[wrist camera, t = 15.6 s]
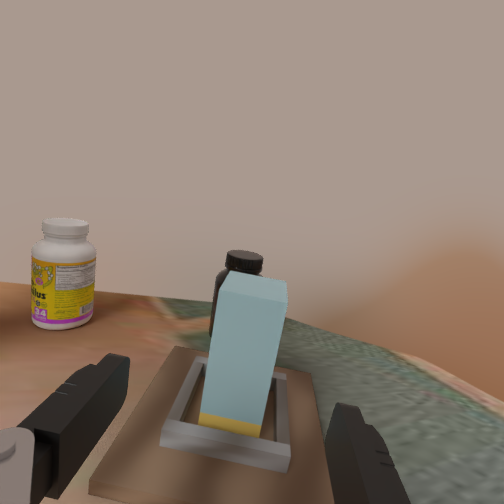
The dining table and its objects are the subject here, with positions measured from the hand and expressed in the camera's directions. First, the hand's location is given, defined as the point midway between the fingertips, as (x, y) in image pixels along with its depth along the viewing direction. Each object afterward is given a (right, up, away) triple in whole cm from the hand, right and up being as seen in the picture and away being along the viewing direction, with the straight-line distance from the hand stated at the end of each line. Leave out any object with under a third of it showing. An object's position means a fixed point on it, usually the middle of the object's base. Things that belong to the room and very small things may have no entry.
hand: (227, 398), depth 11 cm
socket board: (-1, -10, +15) cm, 18 cm away
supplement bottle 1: (-23, -3, +26) cm, 36 cm away
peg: (-1, -9, +15) cm, 17 cm away
